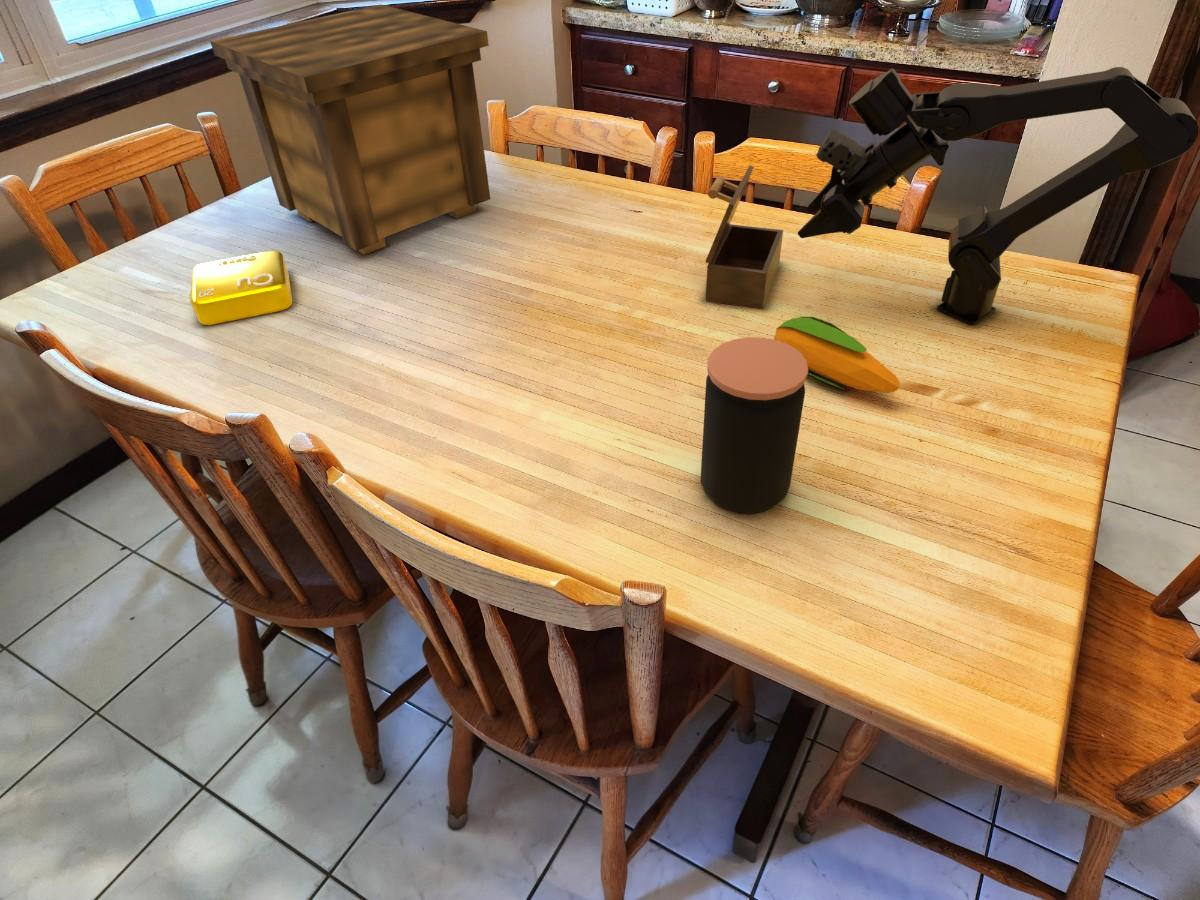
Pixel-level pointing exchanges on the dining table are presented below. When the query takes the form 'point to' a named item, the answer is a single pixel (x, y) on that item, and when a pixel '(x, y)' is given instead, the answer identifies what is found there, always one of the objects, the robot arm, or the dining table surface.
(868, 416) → the dining table surface
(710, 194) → the brown box lid
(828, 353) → the corn
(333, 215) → the crate
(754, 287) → the brown wooden box
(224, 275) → the element tile
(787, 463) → the coffee jar
